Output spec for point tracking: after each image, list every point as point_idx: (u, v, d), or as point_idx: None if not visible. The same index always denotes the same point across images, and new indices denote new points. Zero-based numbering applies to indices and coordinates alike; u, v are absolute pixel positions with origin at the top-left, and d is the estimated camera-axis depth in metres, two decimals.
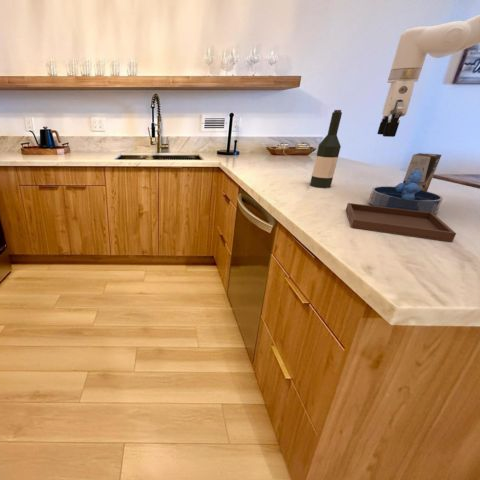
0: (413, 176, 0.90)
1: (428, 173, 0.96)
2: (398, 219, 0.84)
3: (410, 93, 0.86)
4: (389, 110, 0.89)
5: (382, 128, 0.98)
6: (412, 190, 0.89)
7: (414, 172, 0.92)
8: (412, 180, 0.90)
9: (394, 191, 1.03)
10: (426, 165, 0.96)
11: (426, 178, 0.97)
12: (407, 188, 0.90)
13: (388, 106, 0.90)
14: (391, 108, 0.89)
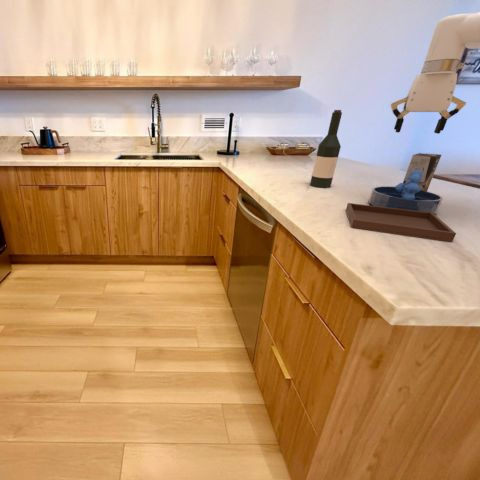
0: (413, 176, 0.90)
1: (428, 173, 0.96)
2: (398, 219, 0.84)
3: None
4: (448, 105, 0.82)
5: None
6: (412, 190, 0.89)
7: (414, 172, 0.92)
8: (412, 180, 0.90)
9: (394, 191, 1.03)
10: (426, 165, 0.96)
11: (426, 178, 0.97)
12: (407, 188, 0.90)
13: (445, 101, 0.82)
14: None
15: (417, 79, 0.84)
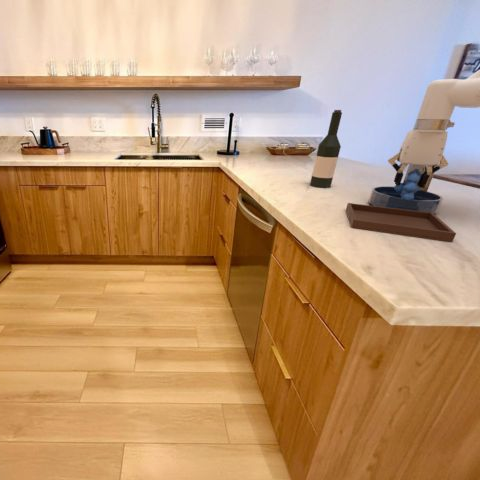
0: (411, 176, 0.90)
1: None
2: (398, 219, 0.84)
3: None
4: (439, 160, 0.87)
5: None
6: (411, 190, 0.89)
7: (412, 172, 0.92)
8: (410, 180, 0.90)
9: (394, 191, 1.03)
10: None
11: None
12: (406, 188, 0.90)
13: (436, 156, 0.86)
14: None
15: (410, 134, 0.88)
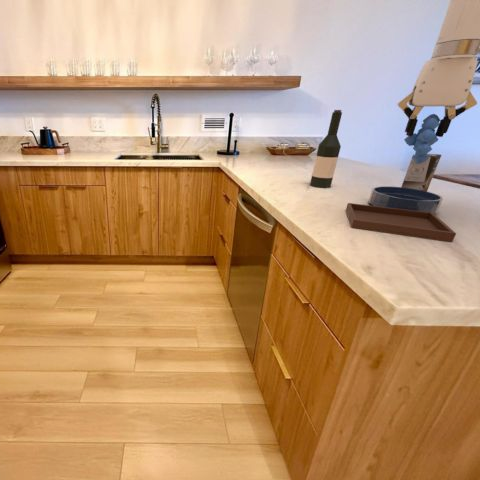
0: (428, 121, 0.70)
1: (428, 173, 0.96)
2: (398, 219, 0.84)
3: None
4: (466, 98, 0.66)
5: None
6: (428, 138, 0.69)
7: (429, 117, 0.72)
8: (427, 126, 0.70)
9: (394, 191, 1.03)
10: (426, 165, 0.96)
11: (426, 178, 0.97)
12: (421, 137, 0.70)
13: (461, 92, 0.66)
14: None
15: (427, 65, 0.68)
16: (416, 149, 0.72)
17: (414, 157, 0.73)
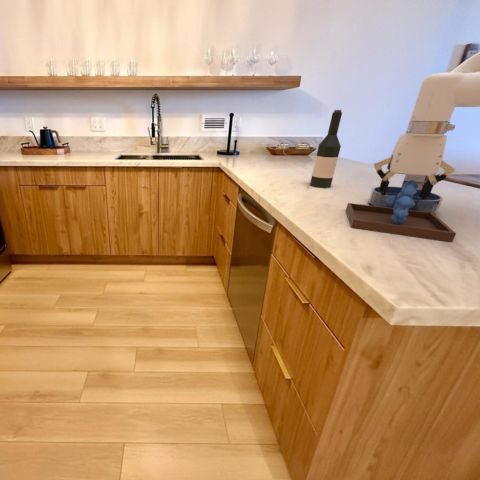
0: (406, 188, 0.76)
1: None
2: None
3: None
4: (437, 170, 0.73)
5: (386, 188, 0.80)
6: (405, 205, 0.75)
7: (408, 183, 0.78)
8: (405, 193, 0.76)
9: (394, 191, 1.03)
10: None
11: None
12: (399, 202, 0.76)
13: (433, 165, 0.72)
14: (438, 168, 0.73)
15: (402, 139, 0.74)
16: (394, 212, 0.78)
17: (393, 218, 0.80)
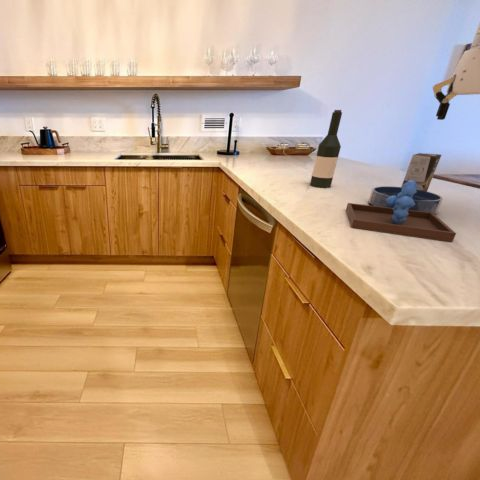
0: (406, 188, 0.76)
1: (428, 173, 0.96)
2: None
3: None
4: None
5: None
6: (405, 205, 0.75)
7: (408, 183, 0.78)
8: (405, 193, 0.76)
9: (394, 191, 1.03)
10: (426, 165, 0.96)
11: (426, 178, 0.97)
12: (399, 202, 0.76)
13: None
14: None
15: (468, 54, 0.70)
16: (394, 212, 0.78)
17: (393, 218, 0.80)
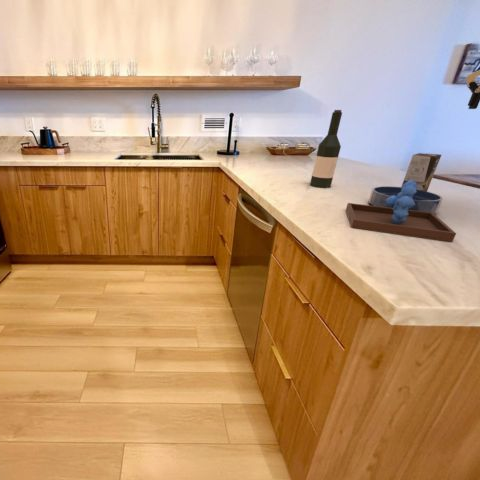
0: (406, 188, 0.76)
1: (428, 173, 0.96)
2: None
3: None
4: None
5: None
6: (405, 205, 0.75)
7: (408, 183, 0.78)
8: (405, 193, 0.76)
9: (394, 191, 1.03)
10: (426, 165, 0.96)
11: (426, 178, 0.97)
12: (399, 202, 0.76)
13: None
14: None
15: None
16: (394, 212, 0.78)
17: (393, 218, 0.80)
